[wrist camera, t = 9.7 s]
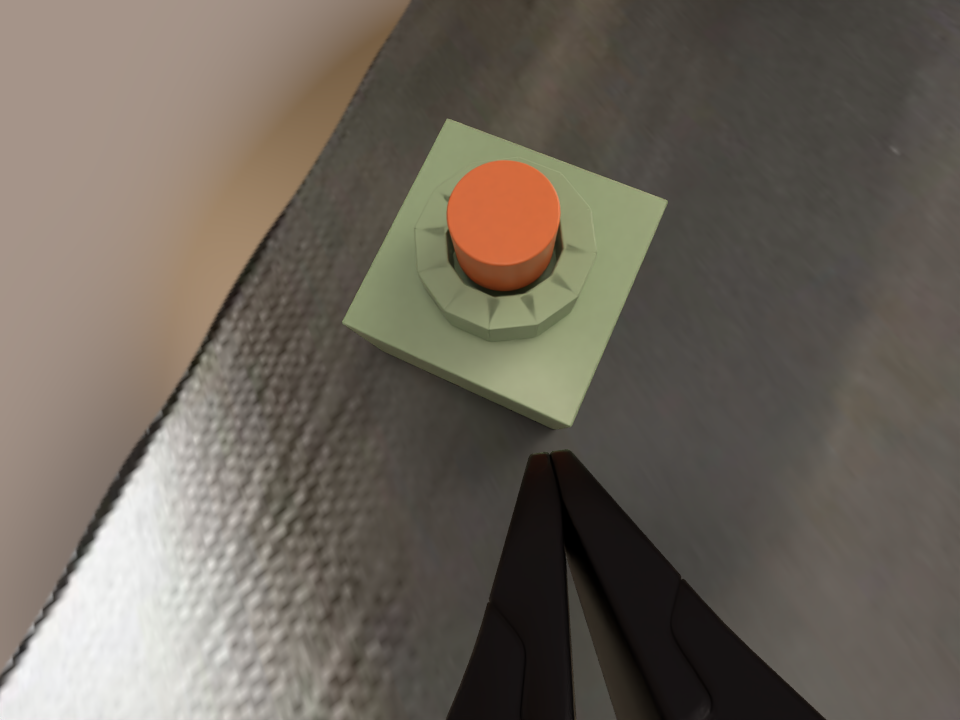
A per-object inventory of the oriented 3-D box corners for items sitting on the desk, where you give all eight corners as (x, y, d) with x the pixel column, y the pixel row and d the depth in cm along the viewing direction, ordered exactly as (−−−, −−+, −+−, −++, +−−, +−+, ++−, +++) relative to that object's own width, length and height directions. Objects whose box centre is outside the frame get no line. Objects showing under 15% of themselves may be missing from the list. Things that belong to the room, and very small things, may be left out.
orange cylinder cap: (529, 307, 16) (532, 283, 14) (439, 269, 17) (427, 239, 14) (568, 221, 17) (579, 182, 14) (480, 186, 17) (475, 143, 15)
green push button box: (555, 430, 23) (579, 426, 15) (382, 351, 24) (319, 309, 16) (630, 258, 24) (688, 171, 16) (461, 191, 25) (439, 81, 18)
